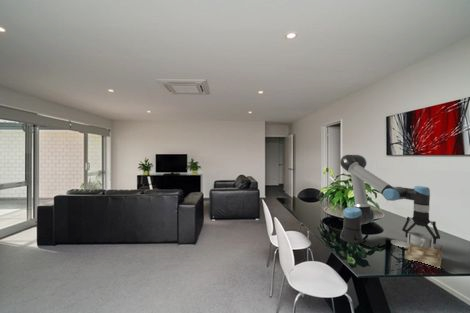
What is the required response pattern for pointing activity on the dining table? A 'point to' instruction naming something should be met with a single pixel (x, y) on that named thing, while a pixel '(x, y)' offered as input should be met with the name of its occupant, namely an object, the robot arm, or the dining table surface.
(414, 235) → the teacup
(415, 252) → the rack
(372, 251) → the dining table surface
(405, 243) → the saucer
